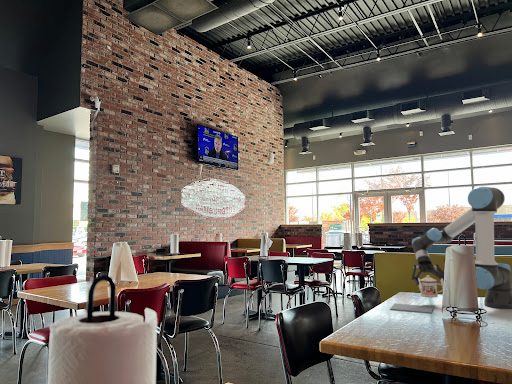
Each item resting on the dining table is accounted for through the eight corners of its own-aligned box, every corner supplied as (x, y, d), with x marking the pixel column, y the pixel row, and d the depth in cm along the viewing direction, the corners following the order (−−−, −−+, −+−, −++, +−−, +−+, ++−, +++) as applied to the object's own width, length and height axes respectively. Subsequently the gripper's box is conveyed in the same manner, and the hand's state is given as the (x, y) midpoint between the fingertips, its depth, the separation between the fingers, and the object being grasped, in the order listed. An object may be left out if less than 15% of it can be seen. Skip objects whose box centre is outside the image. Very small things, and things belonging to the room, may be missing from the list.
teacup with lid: (420, 297, 214) (419, 276, 215) (420, 294, 223) (419, 274, 224) (444, 298, 210) (443, 276, 211) (443, 295, 218) (441, 274, 219)
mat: (433, 307, 208) (433, 306, 208) (431, 313, 194) (431, 312, 194) (394, 304, 218) (394, 303, 218) (389, 309, 204) (389, 308, 204)
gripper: (443, 263, 231) (454, 293, 215) (401, 263, 235) (409, 293, 218) (445, 254, 227) (457, 284, 210) (403, 255, 230) (411, 284, 213)
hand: (432, 289), depth 214 cm, fingers closed on teacup with lid, 12 cm apart
